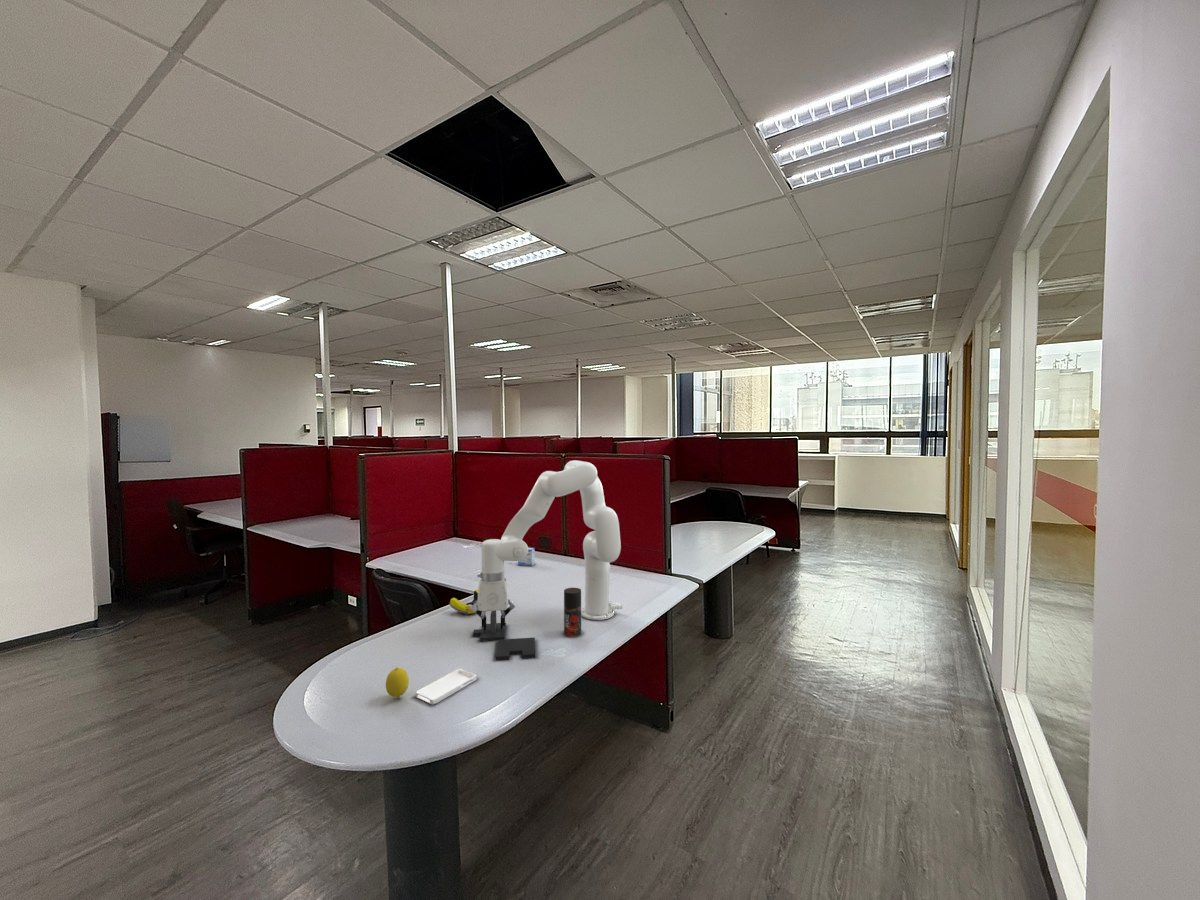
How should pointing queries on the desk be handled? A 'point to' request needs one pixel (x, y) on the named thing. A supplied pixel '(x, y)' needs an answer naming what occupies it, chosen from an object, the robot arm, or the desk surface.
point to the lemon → (397, 682)
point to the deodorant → (572, 612)
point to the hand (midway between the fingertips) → (493, 627)
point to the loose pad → (490, 636)
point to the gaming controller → (464, 607)
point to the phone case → (445, 686)
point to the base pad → (515, 648)
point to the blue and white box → (528, 558)
